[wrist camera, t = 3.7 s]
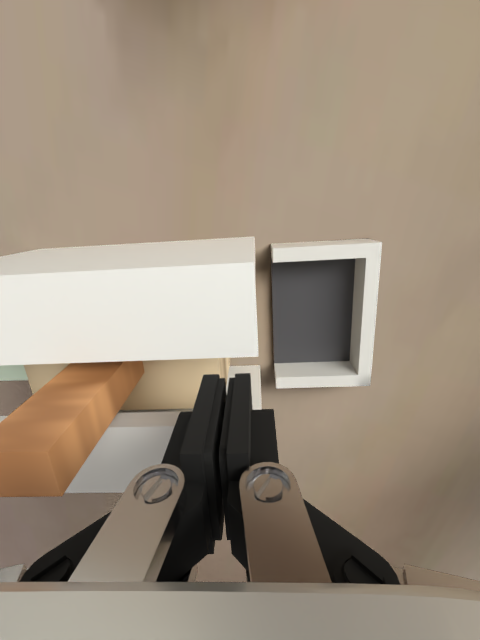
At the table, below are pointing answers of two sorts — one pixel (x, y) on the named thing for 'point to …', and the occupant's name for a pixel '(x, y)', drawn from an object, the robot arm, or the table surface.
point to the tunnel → (131, 327)
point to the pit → (324, 312)
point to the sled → (86, 414)
